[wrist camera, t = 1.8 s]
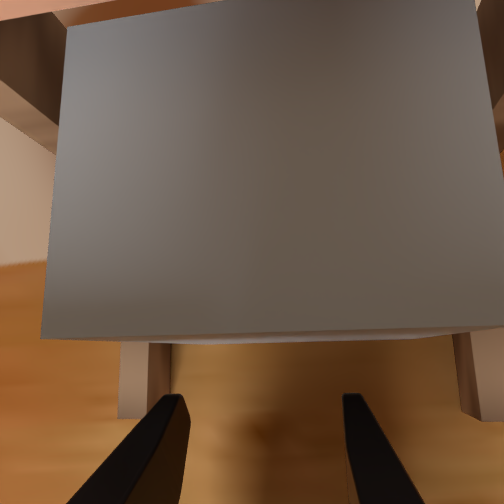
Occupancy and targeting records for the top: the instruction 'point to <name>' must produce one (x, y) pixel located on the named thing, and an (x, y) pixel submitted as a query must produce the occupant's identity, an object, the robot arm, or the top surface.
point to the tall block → (276, 176)
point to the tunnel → (159, 354)
